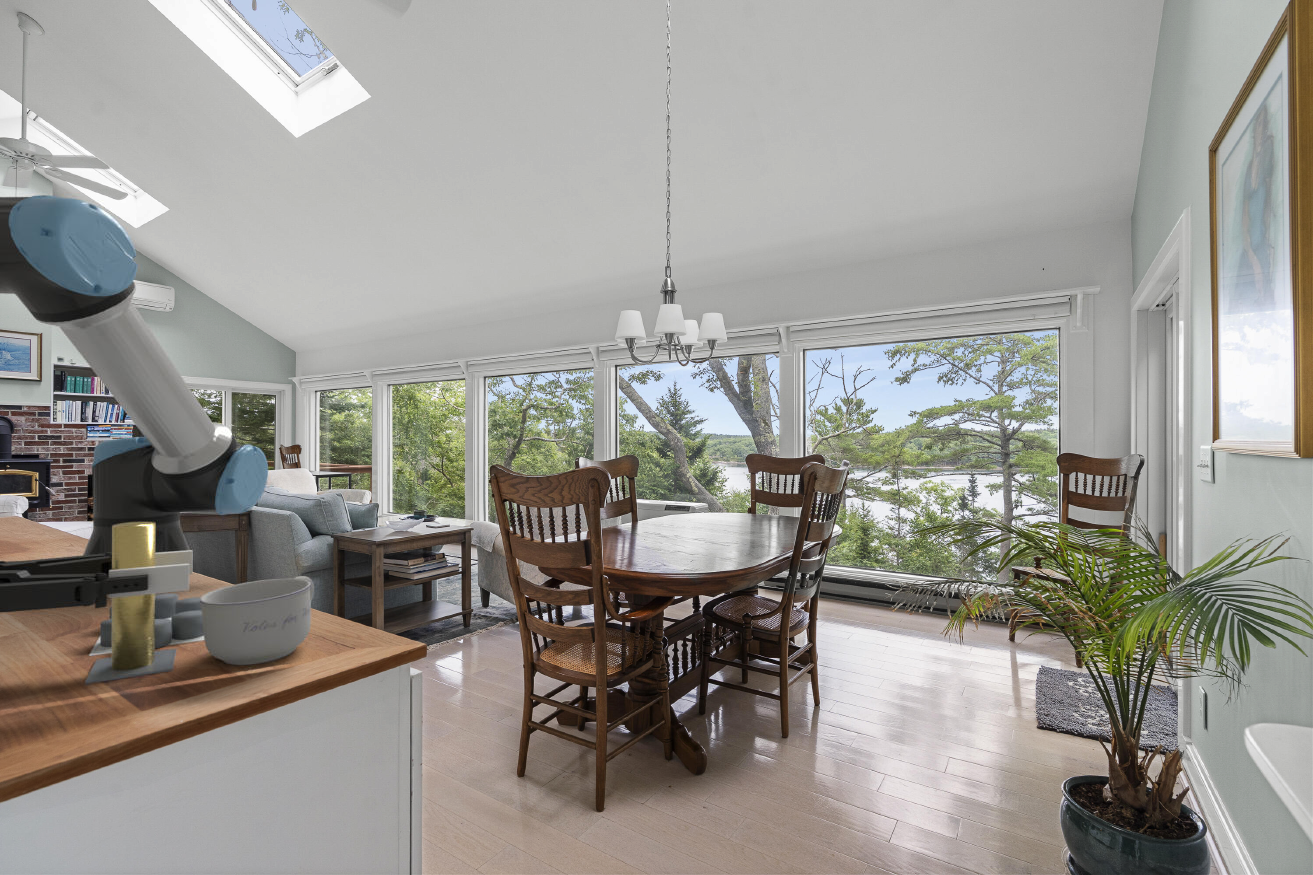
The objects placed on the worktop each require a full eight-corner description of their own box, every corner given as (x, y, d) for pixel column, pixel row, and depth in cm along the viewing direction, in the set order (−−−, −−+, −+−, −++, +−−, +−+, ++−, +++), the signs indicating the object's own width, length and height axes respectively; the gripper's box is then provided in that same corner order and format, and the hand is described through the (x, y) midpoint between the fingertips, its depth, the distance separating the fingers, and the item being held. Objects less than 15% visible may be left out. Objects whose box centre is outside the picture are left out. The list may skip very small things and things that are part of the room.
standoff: (114, 660, 70) (114, 522, 70) (155, 654, 72) (157, 520, 72) (109, 672, 67) (109, 528, 67) (152, 666, 69) (153, 526, 69)
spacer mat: (110, 620, 86) (110, 598, 86) (211, 608, 92) (211, 588, 92) (87, 661, 72) (87, 635, 72) (208, 644, 78) (208, 620, 78)
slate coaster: (96, 664, 71) (96, 659, 71) (176, 653, 75) (176, 648, 75) (85, 687, 65) (85, 681, 65) (172, 673, 69) (172, 668, 69)
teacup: (247, 681, 68) (247, 604, 67) (175, 665, 71) (176, 593, 71) (352, 640, 81) (353, 575, 80) (287, 628, 84) (288, 567, 84)
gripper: (-73, 608, 68) (194, 582, 81) (-172, 672, 51) (185, 627, 64) (-74, 537, 68) (194, 522, 81) (-173, 578, 51) (185, 551, 64)
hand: (190, 569), depth 72 cm, fingers open, 7 cm apart
